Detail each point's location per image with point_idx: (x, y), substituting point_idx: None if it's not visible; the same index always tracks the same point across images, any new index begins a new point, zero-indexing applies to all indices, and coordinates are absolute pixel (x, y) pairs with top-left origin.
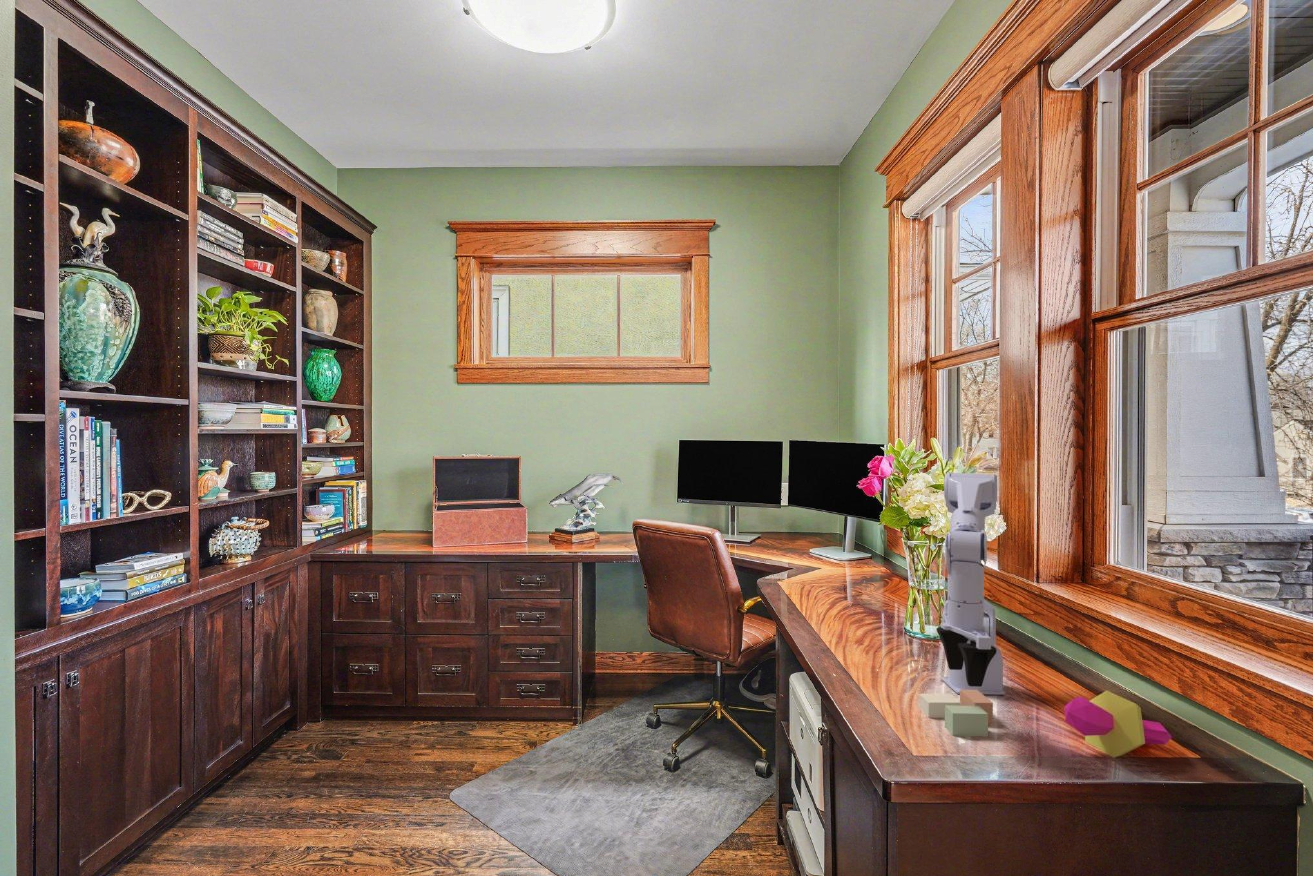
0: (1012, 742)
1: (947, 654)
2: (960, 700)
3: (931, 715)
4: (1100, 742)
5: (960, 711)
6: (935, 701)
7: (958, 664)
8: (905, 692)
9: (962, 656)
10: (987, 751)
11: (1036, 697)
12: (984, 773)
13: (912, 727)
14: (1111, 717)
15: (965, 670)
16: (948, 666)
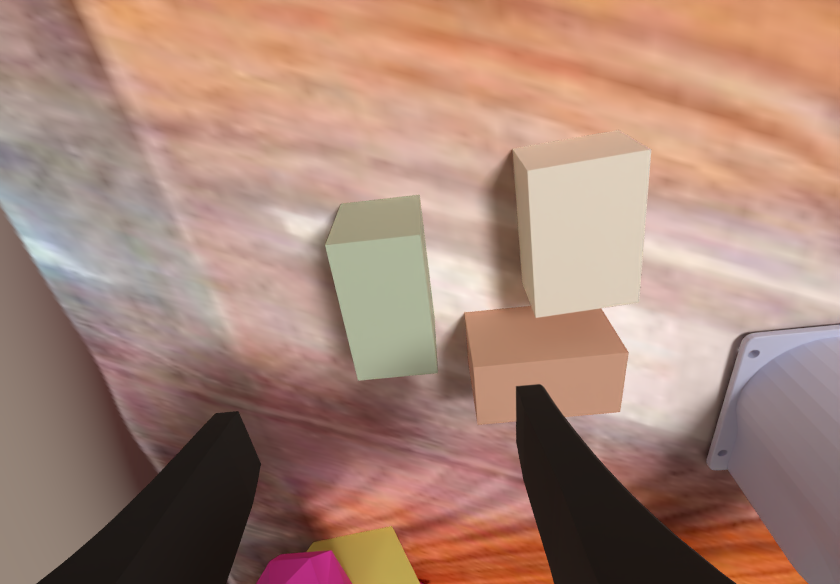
0: (338, 378)
1: (551, 464)
2: (604, 324)
3: (515, 166)
4: (342, 554)
5: (356, 285)
6: (544, 210)
7: (525, 457)
8: (828, 109)
9: (539, 531)
10: (238, 288)
11: (678, 522)
12: (45, 227)
13: (390, 32)
14: None
15: (180, 484)
16: (539, 392)
